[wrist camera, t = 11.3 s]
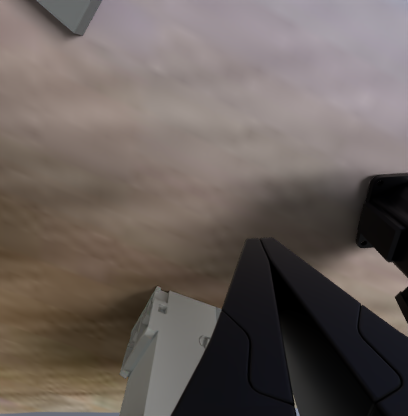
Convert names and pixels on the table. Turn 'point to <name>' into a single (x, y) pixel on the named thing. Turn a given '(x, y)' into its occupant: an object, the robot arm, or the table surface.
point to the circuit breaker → (165, 352)
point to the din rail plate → (72, 12)
